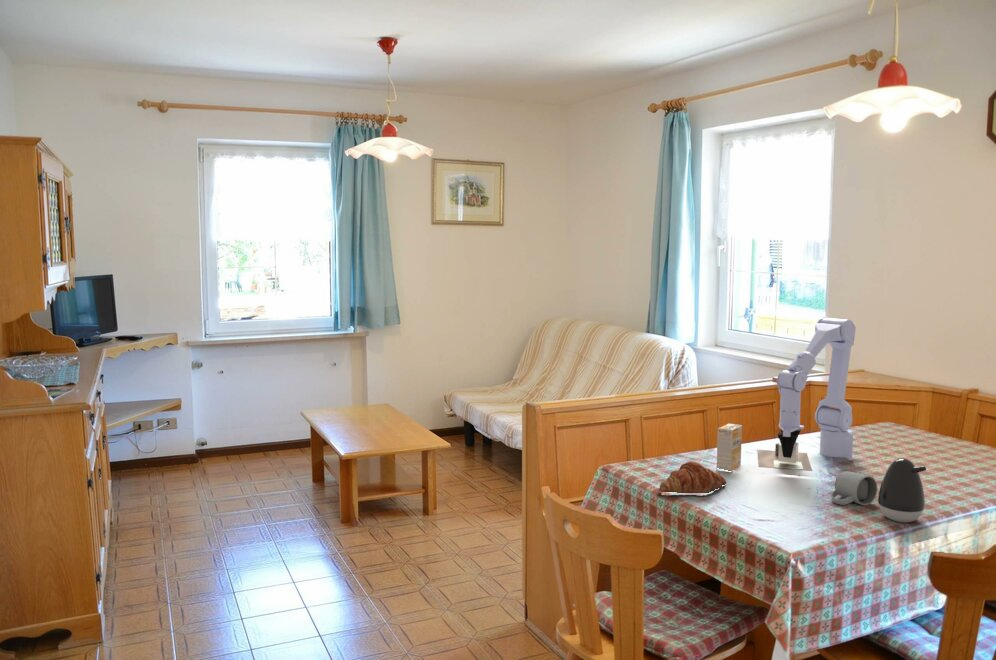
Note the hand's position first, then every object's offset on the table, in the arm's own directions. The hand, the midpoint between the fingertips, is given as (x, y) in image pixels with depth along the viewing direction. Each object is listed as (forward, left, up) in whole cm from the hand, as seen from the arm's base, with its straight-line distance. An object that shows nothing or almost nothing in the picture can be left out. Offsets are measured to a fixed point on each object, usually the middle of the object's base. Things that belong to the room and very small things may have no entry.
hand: (788, 454), depth 234 cm
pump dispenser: (-24, +38, -4) cm, 45 cm away
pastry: (+26, +30, -4) cm, 40 cm away
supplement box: (+17, +6, -4) cm, 19 cm away
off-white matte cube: (0, 0, -2) cm, 2 cm away
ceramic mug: (-14, +28, -4) cm, 31 cm away
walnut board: (+1, -6, -4) cm, 7 cm away
